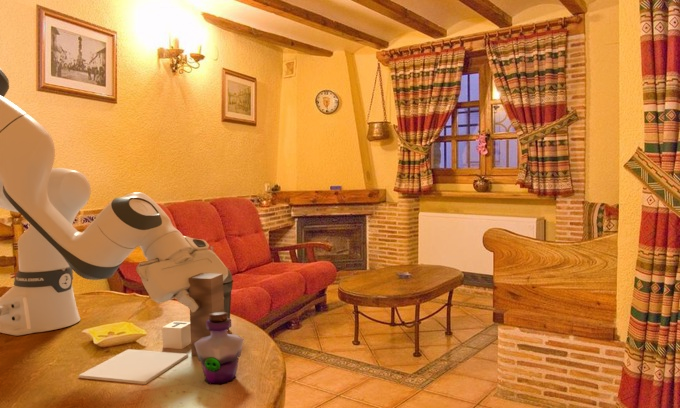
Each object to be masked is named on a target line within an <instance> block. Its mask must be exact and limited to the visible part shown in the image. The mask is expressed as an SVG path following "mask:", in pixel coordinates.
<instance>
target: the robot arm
mask: <svg viewBox="0 0 680 408" xmlns="http://www.w3.org/2000/svg"><path fill="white" fill-rule="evenodd" d="M9 83H10V81H9V78H8V77H7V75H6V73H5V71H3V69H2V68H1V67H0V209H2V210H6V211H10V212H15V213H19V214H20V215H21V216H22V217H23V218H24V219H25V220H26V221H27V222H28V223H29V225H28V228H27V229H26V231H24V232H22V234H20V235H19V237H18V239H17V253H18V254H17V256H18V271H16V272H14V273H10V274H9V275H10V279H14V281H13V285H12V287H11V288H10V289H8V290H7V291H6V292H5V293H3V295H2V296H0V334H1V333H2V334H7V335H11V336H24V335H28V334H34V333H43V332H50V331H53V330H58V329H63V328H66V327H70V326H73V325H75V324H77V323H78V322H80V321H81V317H80V313H79V310H78V307H77V303H76V298H75V297H76V296H75V293H74V287H73V279H74V275H73V273H74V272H75V274H76V275H78V276H79V277H81V278H83V279H86V280H90V281H91V280H92V281H97V280H106V279H110V278H112V277H113V276H114V275H115V273H116V272H117V270H118V269H119V268H120V266H121V265H122V264H123V262H124V261H125V260H126V259H127V258H128V257H129V256H130V255H131V254H132V253H133V252H134V251H135V250H136V248H137V247H139V248H140V249H141V251H142V253H143V256H144V258H145V259H146V260H143V261H140V262H139V263H138V264H137V265H136V268H135V269H136V273H137V275H139V277H140V279H141V282H142V284H143V286H144V288H145V290H146V292H147V294H148V295H149V297H150V299H151V300H152V301H153V302H155V303H157V304H163V303H166V302H169V301H172V300H174V299H176V301H177V302H178V303H179V304H182V305H184V306H185V307H187V308H188V310H189V311H190V310H191V312H196V311H199V309H200V308H201V307H202V305H201V304H200V303H199V301H198V300H194V299H192V298H191V297H190V296H189V288H190V284H189V278H190V277H192V276H195V275H197V274H200V273H214V274H223V281H224V280H225V279H226V277H227V276H228V269H229V268H228V267H227V266H226V265H225V264H224V262H223V261H222V260H221V259H220V257H219V256H218V254H216V252H214V250H213V251H211V249H209V247H210V244H209V243H208V241H206V240H205V239H200V238H199V239H198V238H194V237H190V236H188V235H187V236H185V235H183V233H182V232H181V231H180V230H178V228H176V227H175V226H174V225H173V223H172V220H171V218H170V217H169V216H168V214H167V213H166V212H165V211H164V209H163V208H161V206H160V205H159V204H158V203H157V202H156V201H155V200H154V199H153V198H152V197H150V196H149V195H148V194H146V193H144V192H141V191H140V192H139V191H135V192H131V193H128V194H125V195H124V196H121V197H120V196H119V197H116V198H113V199H112V200H111V201H110V202H108V203H107V205H105V207H104V208H103V209H102V210H101V211H100V212H99V213H98V214H97V215H96V217H95V218H94V220H93V221H92V222H91V223H90V224H89V225H88V226H86V228H85V229H84V230H83V231H82V232H81V231H80V230H78V229H77V228H75V227H74V226H73V224H74V222H75V219H76V217H77V215H78V214H79V212H80V211H81V210H82V209H83V208H84V207H85V206H86V205H87V204H88V203H89V200H90V198H91V192H92V188H91V183H90V181H89V180H88V178H87V176H86V175H85V174H84V173H82V172H81V171H78V170H74V169H70V168H64V167H53V166H54V164H55V163H54V162H55V157H56V150H55V143H54V140H53V137H52V135H51V134H50V132H48V130H47V129H46V128H45V126H43V125H42V124H41V123H39V121H37V120H36V119H34V118H33V117H32V116H31V115H30V114H28V113H27V112H26V111H24V110H23V109H22V108H20V107H19V106H18V105H16V104H15V103H13V102H12V101H10V100H9V99H7V98H6V97H5V96H6V94H7V93H8V91H9V89H10V84H9ZM226 267H227V268H228V269H227V268H226Z"/></svg>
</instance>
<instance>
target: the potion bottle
mask: <svg viewBox="0 0 680 408" xmlns="http://www.w3.org/2000/svg"><path fill="white" fill-rule="evenodd" d="M231 327H232V319H231V318H230V319H229V318H228V313H227V312H215V313H211V314H209V320H207V321H206V329H208V330H209V331H211V336H206V337H202V338H201V339H199V340H198V341H197V342H196V343H194V344H195V348H196V351H197V355H198V356H197V358H198V361H199V362H200V364H201V368H202V372H203V375H204V378H205V379H204V382H206V383H207V384H208V385H217V386H221V385H225V384H228V383H229V384H230V383H233V381H234V380H235V379H236V378H237V376H236V375H237V370H238V365H239V361H240V359H239V357H240V356H241V355H242V350H243V345H244V338H243V337H241V336H239V335H238V334H234V333H233V334H232V333H228V331H227V329H229V330H230V328H231Z"/></svg>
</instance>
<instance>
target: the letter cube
mask: <svg viewBox="0 0 680 408" xmlns="http://www.w3.org/2000/svg"><path fill="white" fill-rule="evenodd" d="M161 330H162V348H164V349H165V348H166V349H176V350H177V349H178V350H182V349H184V348H186V347H187V346H189V345H191V329H190V321H181V320H180V321H176V320H175V321H174V320H173V321H172V322H169V323H167V324H166V325H163V326H162V327H161Z"/></svg>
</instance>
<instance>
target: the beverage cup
mask: <svg viewBox="0 0 680 408" xmlns="http://www.w3.org/2000/svg"><path fill="white" fill-rule="evenodd" d="M210 250H211V251H213V252H214V246H213V245H211V246H210ZM226 268H227V269H228V276H227V277H226V279H225V280H224V281H223V293H224V312H227V313H228V318H229V319H231V308H232V307H231V305H232V290H233V283H234V279H233V275H232V272H231V271H230V269H229V268H228V267H227V266H226ZM227 330H228V331H229V330H230V328H229V329H227Z"/></svg>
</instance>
